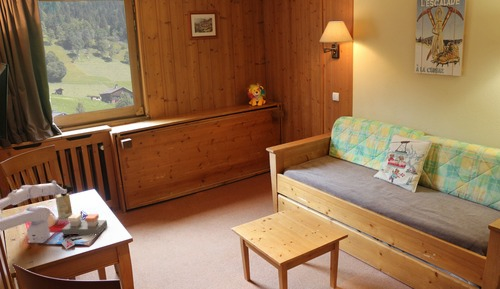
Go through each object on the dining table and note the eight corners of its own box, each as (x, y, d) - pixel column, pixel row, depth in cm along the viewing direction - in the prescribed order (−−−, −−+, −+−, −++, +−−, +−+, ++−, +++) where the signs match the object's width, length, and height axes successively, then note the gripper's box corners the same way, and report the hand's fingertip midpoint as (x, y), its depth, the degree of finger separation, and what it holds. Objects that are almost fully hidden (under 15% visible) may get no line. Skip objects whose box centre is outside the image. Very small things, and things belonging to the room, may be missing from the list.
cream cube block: (78, 227, 208) (76, 218, 207) (69, 226, 209) (67, 218, 207) (82, 222, 212) (81, 214, 211) (74, 222, 213) (72, 214, 212)
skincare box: (61, 219, 225) (56, 197, 222) (58, 216, 228) (54, 195, 225) (73, 215, 229) (69, 193, 226) (70, 212, 232) (66, 191, 229)
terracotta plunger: (95, 227, 207) (93, 218, 205) (86, 227, 207) (84, 218, 206) (99, 222, 211) (98, 214, 210) (91, 222, 212) (89, 214, 210)
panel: (97, 235, 205) (96, 229, 204) (63, 234, 207) (62, 229, 206) (107, 225, 214) (106, 220, 213) (74, 225, 217) (73, 219, 216)
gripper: (57, 184, 203) (78, 182, 216) (35, 178, 208) (57, 176, 221) (55, 199, 204) (76, 196, 216) (33, 192, 209) (55, 190, 222)
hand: (66, 187), depth 219 cm, fingers open, 7 cm apart
